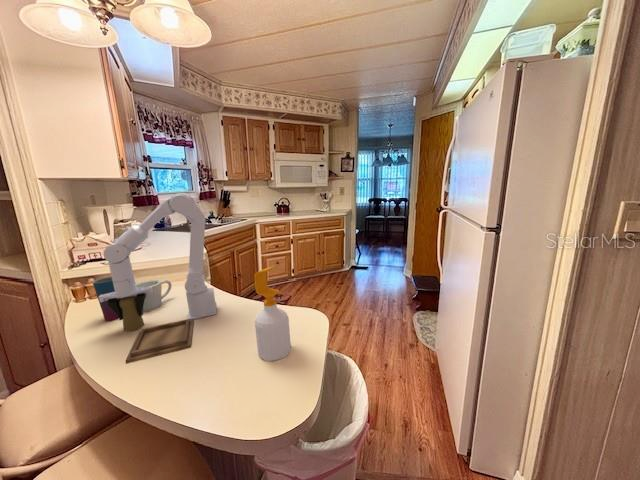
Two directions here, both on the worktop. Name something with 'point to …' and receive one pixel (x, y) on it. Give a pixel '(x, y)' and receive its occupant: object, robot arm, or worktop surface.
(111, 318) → the cup
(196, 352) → the worktop surface
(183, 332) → the spice tray
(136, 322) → the olive-green waisted figurine
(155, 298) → the mug
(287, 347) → the soap bottle
